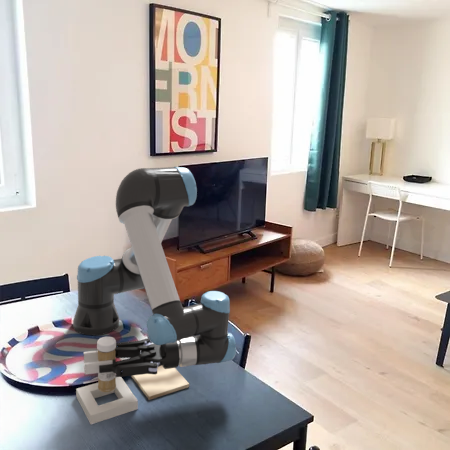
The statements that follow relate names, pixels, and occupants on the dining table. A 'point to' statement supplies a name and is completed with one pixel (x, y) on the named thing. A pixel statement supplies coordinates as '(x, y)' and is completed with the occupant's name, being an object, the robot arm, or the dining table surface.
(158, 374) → the birch board
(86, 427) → the dining table surface
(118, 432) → the dining table surface
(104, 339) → the sprinkles bottle
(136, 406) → the socket block
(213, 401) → the dining table surface
